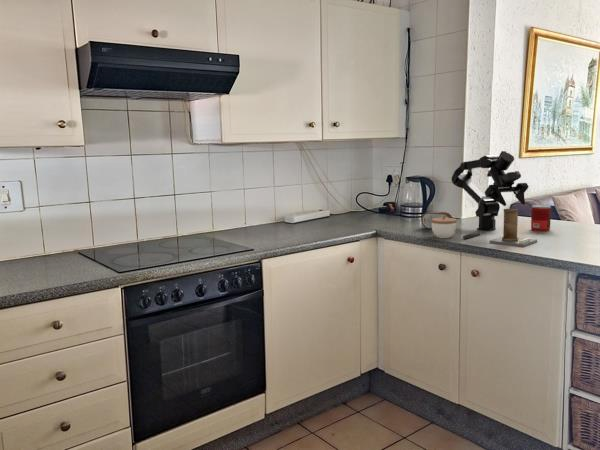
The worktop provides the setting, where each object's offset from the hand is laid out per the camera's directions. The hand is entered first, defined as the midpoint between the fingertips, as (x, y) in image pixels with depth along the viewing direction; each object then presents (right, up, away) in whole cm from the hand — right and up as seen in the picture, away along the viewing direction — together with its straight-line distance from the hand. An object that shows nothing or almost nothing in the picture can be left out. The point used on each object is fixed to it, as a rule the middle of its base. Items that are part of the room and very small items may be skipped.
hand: (514, 204), depth 228 cm
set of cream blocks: (-3, -15, -17) cm, 23 cm away
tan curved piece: (-27, -11, +26) cm, 39 cm away
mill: (-7, -15, -12) cm, 20 cm away
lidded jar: (-29, -14, +6) cm, 33 cm away
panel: (-5, -16, -12) cm, 20 cm away
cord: (-18, -14, +3) cm, 23 cm away
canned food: (+18, -11, +15) cm, 26 cm away
